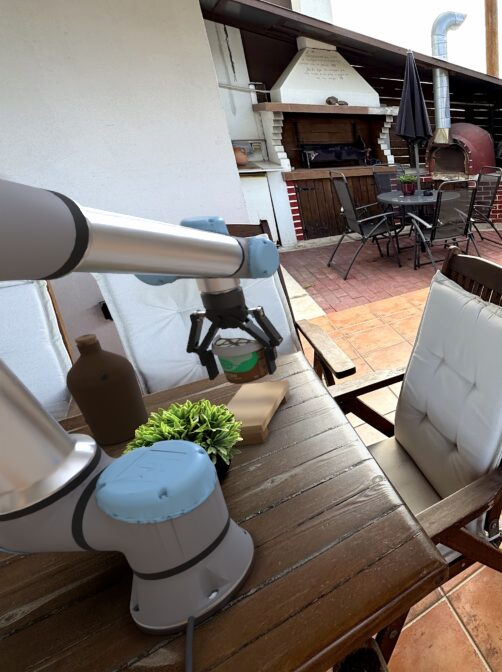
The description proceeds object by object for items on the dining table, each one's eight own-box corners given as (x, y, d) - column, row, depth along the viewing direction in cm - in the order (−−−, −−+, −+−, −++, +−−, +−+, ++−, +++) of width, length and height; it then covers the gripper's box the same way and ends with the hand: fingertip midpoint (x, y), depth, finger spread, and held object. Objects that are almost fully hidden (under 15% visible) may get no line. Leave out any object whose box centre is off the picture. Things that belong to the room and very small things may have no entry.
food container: (206, 384, 92) (195, 346, 88) (227, 370, 98) (217, 333, 94) (255, 388, 90) (245, 350, 87) (274, 374, 96) (265, 337, 93)
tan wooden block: (266, 442, 91) (261, 424, 89) (212, 448, 89) (206, 430, 87) (292, 395, 107) (288, 380, 106) (247, 400, 106) (243, 384, 104)
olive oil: (165, 417, 99) (131, 327, 90) (122, 448, 89) (80, 350, 80) (126, 415, 100) (89, 325, 91) (79, 446, 90) (33, 348, 81)
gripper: (286, 279, 92) (303, 361, 99) (168, 285, 88) (195, 370, 95) (274, 291, 85) (294, 378, 92) (146, 298, 81) (177, 388, 88)
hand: (244, 374), depth 94 cm, fingers closed on food container, 12 cm apart
